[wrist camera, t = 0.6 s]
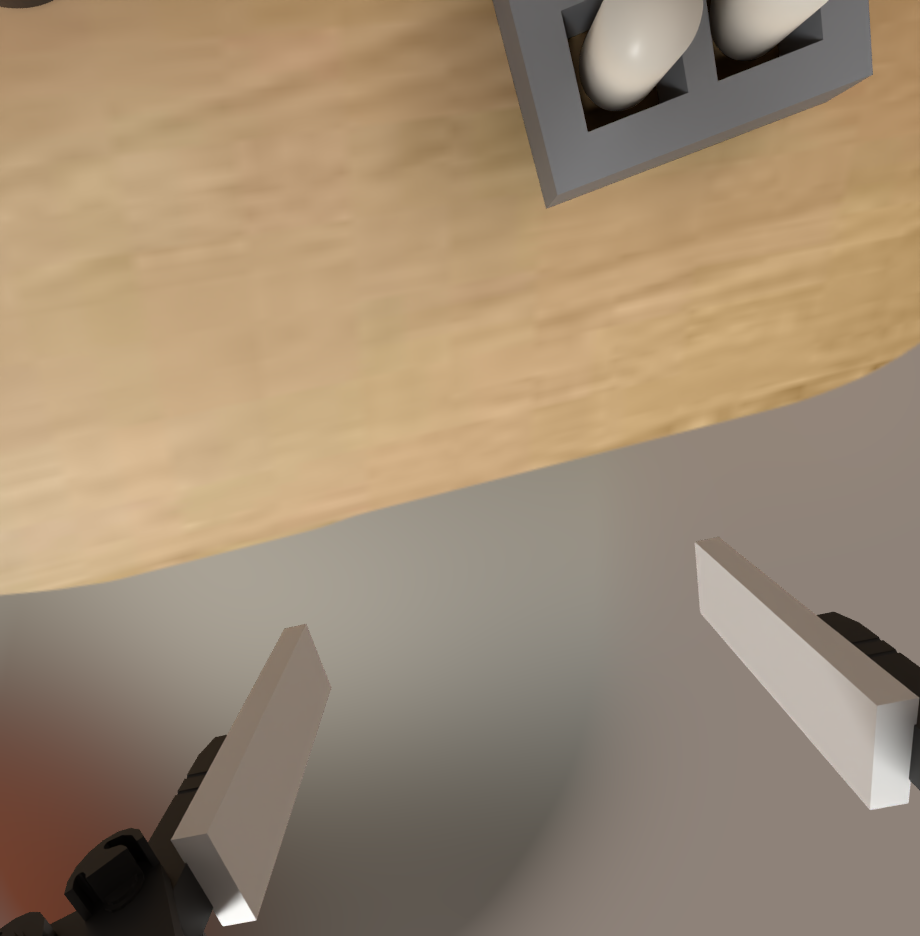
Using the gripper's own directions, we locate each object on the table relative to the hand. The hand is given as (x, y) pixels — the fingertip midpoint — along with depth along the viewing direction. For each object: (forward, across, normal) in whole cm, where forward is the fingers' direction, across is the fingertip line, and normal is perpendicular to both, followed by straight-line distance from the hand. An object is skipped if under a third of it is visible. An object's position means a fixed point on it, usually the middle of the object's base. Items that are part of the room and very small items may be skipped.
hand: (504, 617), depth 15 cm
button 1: (+25, +16, +23) cm, 38 cm away
